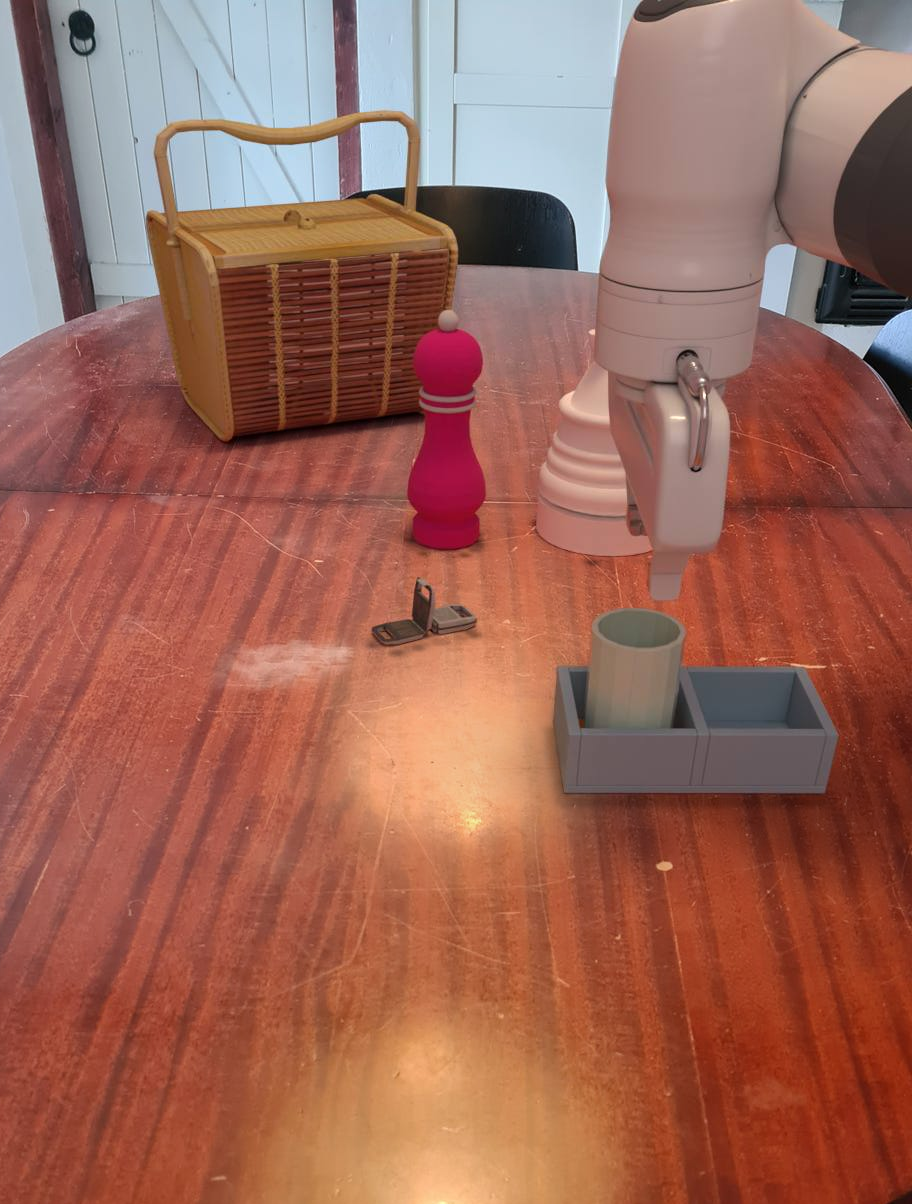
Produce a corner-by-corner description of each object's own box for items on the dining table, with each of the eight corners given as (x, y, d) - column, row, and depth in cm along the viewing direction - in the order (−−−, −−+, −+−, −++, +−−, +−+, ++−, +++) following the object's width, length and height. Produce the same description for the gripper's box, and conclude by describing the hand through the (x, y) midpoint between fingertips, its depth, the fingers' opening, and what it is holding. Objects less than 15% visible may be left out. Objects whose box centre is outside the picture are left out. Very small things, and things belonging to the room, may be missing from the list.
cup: (661, 723, 88) (677, 607, 82) (675, 770, 83) (693, 650, 77) (577, 723, 87) (587, 607, 82) (586, 770, 83) (597, 650, 77)
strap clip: (463, 612, 103) (463, 564, 101) (479, 627, 101) (481, 579, 98) (369, 632, 100) (367, 583, 98) (384, 648, 98) (383, 598, 96)
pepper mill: (476, 519, 119) (481, 298, 107) (491, 549, 113) (499, 319, 101) (402, 524, 118) (399, 301, 106) (414, 554, 112) (413, 322, 100)
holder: (792, 722, 89) (804, 666, 86) (825, 794, 82) (839, 734, 79) (552, 722, 89) (556, 665, 86) (563, 793, 82) (568, 734, 79)
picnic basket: (216, 462, 131) (184, 138, 113) (156, 393, 150) (120, 106, 132) (465, 427, 141) (472, 123, 122) (379, 366, 159) (374, 95, 141)
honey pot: (591, 567, 110) (609, 358, 99) (509, 519, 119) (517, 322, 108) (699, 537, 116) (728, 336, 105) (613, 494, 124) (632, 304, 114)
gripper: (773, 385, 60) (734, 640, 69) (699, 284, 76) (675, 500, 85) (644, 387, 60) (621, 641, 69) (597, 285, 76) (583, 501, 85)
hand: (650, 562), depth 77 cm, fingers open, 8 cm apart
